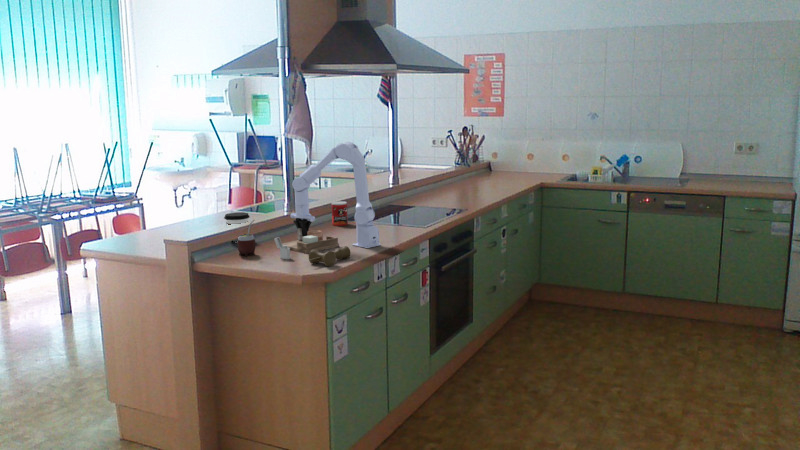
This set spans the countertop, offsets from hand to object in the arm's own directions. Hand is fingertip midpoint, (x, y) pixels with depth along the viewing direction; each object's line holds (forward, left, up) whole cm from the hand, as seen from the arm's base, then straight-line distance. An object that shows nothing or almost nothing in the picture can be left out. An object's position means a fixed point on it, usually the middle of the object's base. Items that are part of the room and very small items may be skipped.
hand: (303, 236), depth 299 cm
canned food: (+20, -39, -3) cm, 44 cm away
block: (-14, +8, -2) cm, 17 cm away
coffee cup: (+25, +16, -3) cm, 30 cm away
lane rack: (-8, +4, -3) cm, 10 cm away
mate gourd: (-2, +29, -3) cm, 30 cm away
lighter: (-17, +23, -3) cm, 29 cm away
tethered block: (-5, 0, -1) cm, 5 cm away
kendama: (-37, +17, -3) cm, 41 cm away
